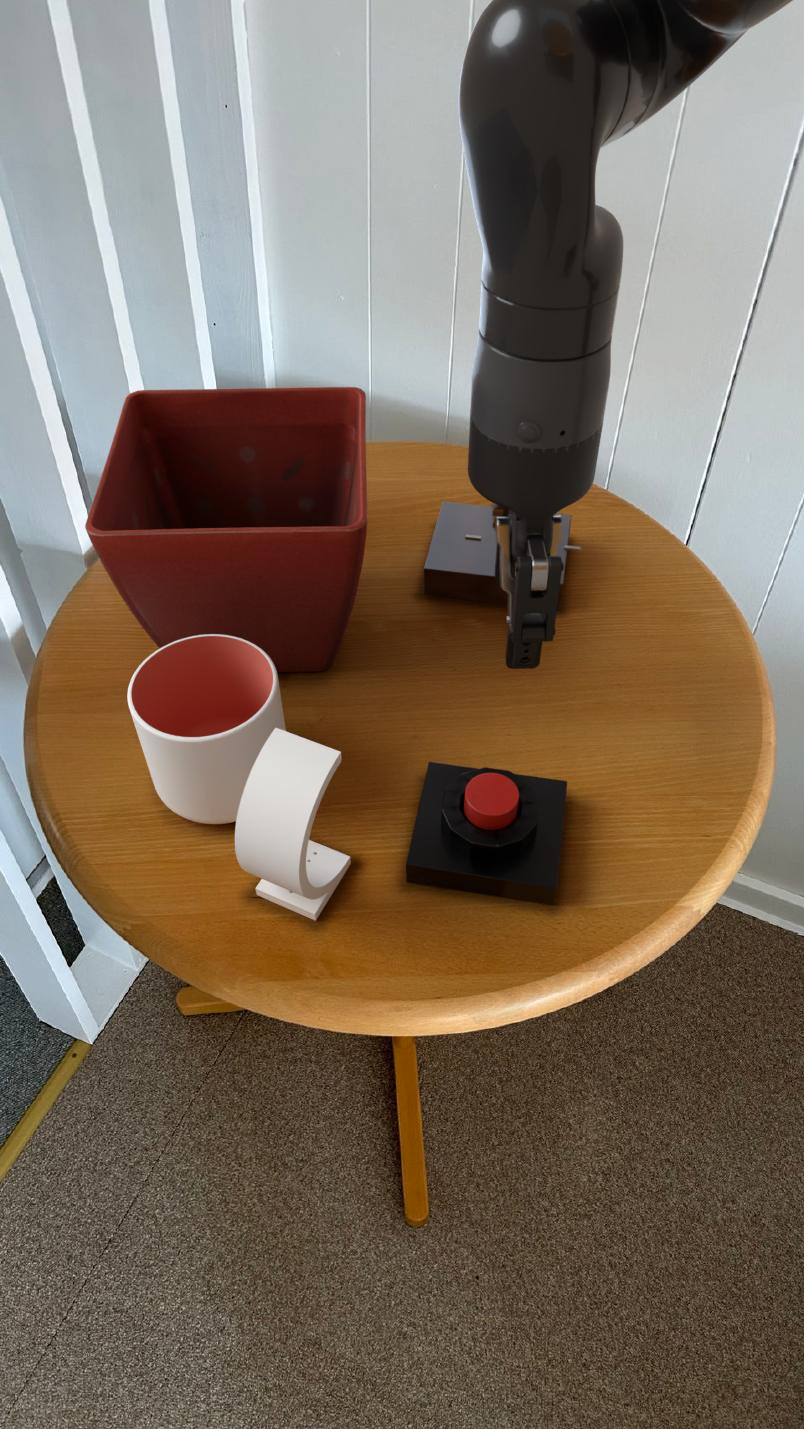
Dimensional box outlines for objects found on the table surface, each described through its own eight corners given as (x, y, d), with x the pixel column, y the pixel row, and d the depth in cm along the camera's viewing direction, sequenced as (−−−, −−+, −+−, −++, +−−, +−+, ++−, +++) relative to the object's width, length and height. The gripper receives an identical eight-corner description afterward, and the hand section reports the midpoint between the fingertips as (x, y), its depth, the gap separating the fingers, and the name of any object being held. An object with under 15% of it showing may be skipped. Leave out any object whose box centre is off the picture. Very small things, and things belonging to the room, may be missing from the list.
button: (520, 792, 66) (522, 776, 65) (514, 834, 64) (516, 819, 63) (467, 784, 67) (469, 768, 66) (460, 826, 64) (461, 810, 63)
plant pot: (372, 550, 90) (366, 382, 78) (375, 699, 77) (367, 527, 65) (167, 555, 90) (127, 388, 77) (135, 706, 77) (80, 535, 64)
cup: (285, 832, 69) (269, 741, 61) (144, 832, 69) (112, 740, 61) (297, 727, 75) (284, 633, 68) (169, 726, 75) (142, 632, 68)
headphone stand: (351, 863, 67) (341, 752, 58) (307, 933, 63) (290, 826, 54) (293, 839, 68) (275, 727, 59) (248, 906, 65) (221, 798, 56)
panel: (579, 541, 91) (584, 513, 88) (571, 613, 84) (576, 585, 82) (441, 526, 92) (442, 499, 90) (423, 595, 86) (423, 567, 83)
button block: (563, 799, 70) (570, 764, 67) (553, 905, 64) (560, 872, 61) (428, 780, 72) (429, 745, 69) (405, 882, 66) (405, 848, 63)
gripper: (625, 479, 50) (585, 695, 62) (585, 344, 59) (557, 555, 71) (479, 481, 50) (467, 698, 62) (463, 347, 59) (455, 557, 71)
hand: (515, 621), depth 66 cm, fingers open, 8 cm apart
